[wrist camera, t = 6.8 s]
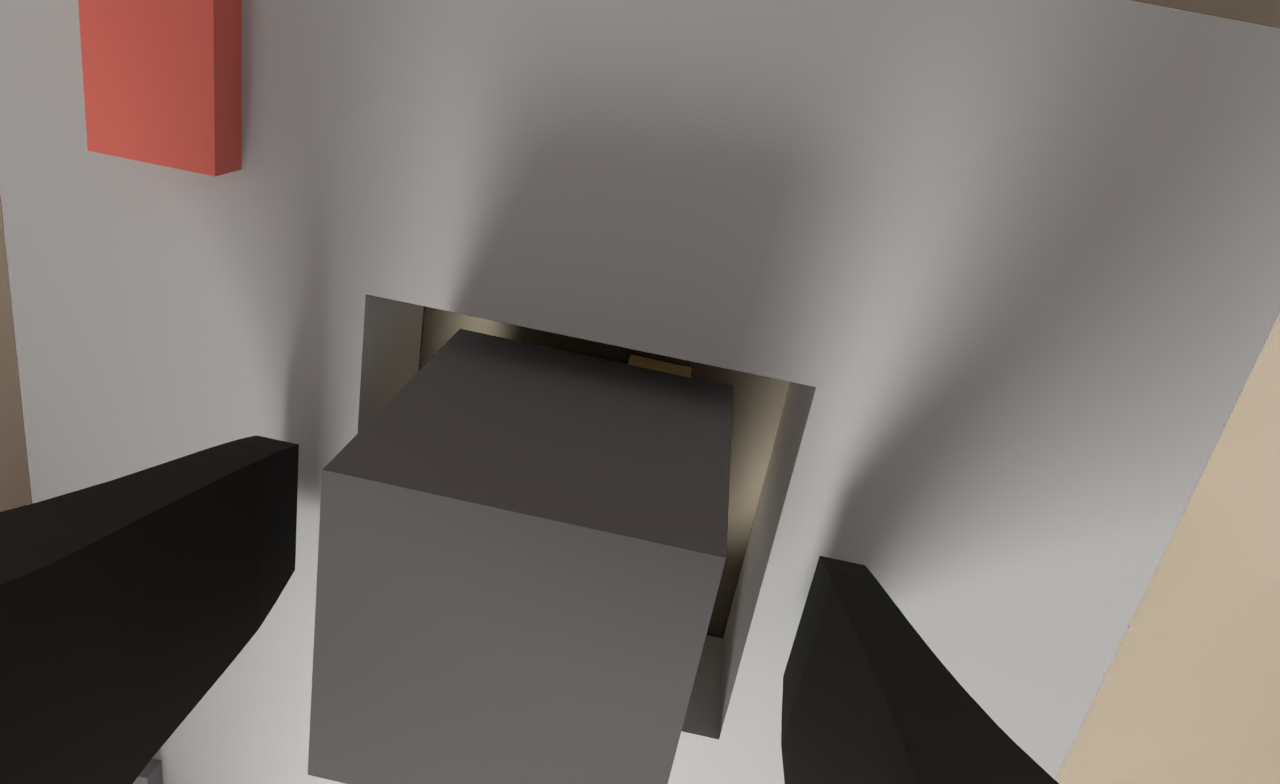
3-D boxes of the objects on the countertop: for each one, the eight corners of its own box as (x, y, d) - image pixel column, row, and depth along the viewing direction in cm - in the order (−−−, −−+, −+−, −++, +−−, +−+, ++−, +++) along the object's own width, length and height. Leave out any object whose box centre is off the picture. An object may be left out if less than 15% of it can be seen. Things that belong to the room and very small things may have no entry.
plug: (684, 563, 16) (649, 853, 10) (462, 514, 16) (307, 773, 10) (734, 351, 14) (726, 558, 8) (488, 300, 14) (321, 470, 9)
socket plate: (915, 891, 18) (948, 1055, 15) (149, 718, 18) (39, 843, 16) (1273, 48, 12) (1447, 52, 9) (107, -172, 12) (-88, -235, 9)
